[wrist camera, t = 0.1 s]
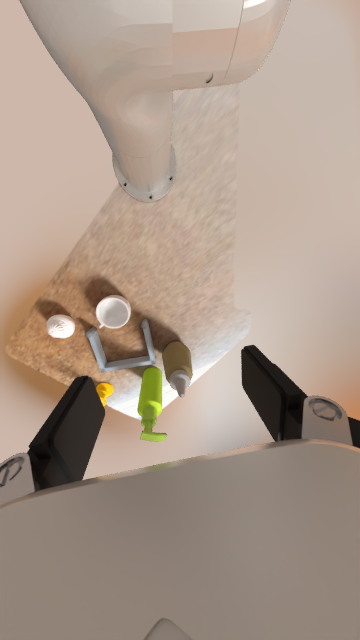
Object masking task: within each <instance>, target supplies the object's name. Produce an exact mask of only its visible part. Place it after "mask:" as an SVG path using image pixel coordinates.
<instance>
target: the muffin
mask: <svg viewBox="0 0 360 640" xmlns="http://www.w3.org/2000/svg"><path fill="white" fill-rule="evenodd" d="M74 329H75V322H74V320H73V318H72V317H70V316H67V315H54V316H52V317H50V318H49V319H48V321H47V332H48V334H49V335H51V336H53V337H58V338H67V337H69V336H71V335H72V334H73V332H74Z"/></svg>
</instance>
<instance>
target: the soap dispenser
mask: <svg viewBox="0 0 360 640" xmlns="http://www.w3.org/2000/svg"><path fill="white" fill-rule="evenodd" d="M161 411H162V373H161V371H160V370H159V369H158V368H155V367H150V368H147V369H146V370H145V371H144V373H143V378H142V384H141V391H140V397H139V404H138V413H139V415H140V416H142V421H141V424H142V426H144V427H145V429H144V431H142V434H141V438H140V439H142V440H146V441H155V442H158V441H164V440H165V439H166V436H167V434H166V433H154V432H152V427H154V426H155V424H156V417H157V416H158V415H159V414H160V413H161Z"/></svg>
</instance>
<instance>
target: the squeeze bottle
mask: <svg viewBox="0 0 360 640" xmlns="http://www.w3.org/2000/svg"><path fill="white" fill-rule="evenodd" d="M162 358H163V364H164V369H165V375H166V379H167V381H168V382H169V383H170V386H171V387H172V388H173V389H175V390H177V392H178V394H179V396H180V397H184V396H185V389H186V388H187V387H188V386H189V385H190V380H191V378H192V375H193V374H192V364H191V354H190V351H189V349H188V347H186V346H185V345H184V344H183V343H181V342H178V341H174V342H171V343H169V344H168V345H167V347H166V348H165V350H164V351H163V355H162Z"/></svg>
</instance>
